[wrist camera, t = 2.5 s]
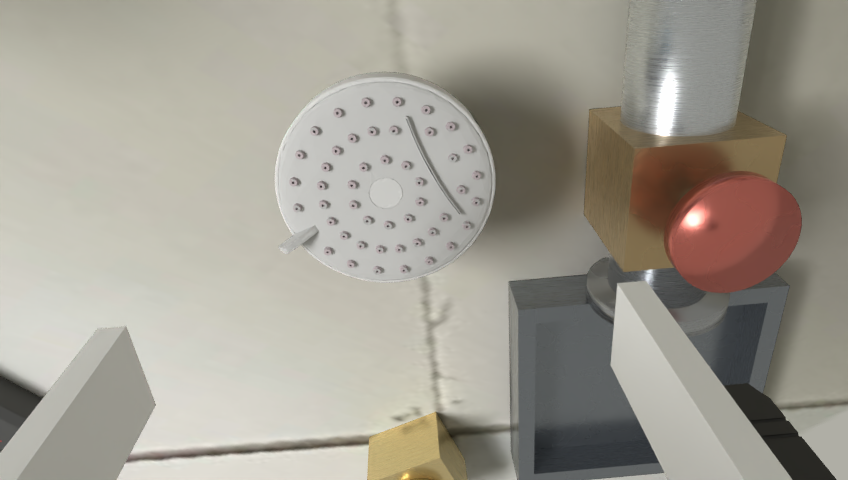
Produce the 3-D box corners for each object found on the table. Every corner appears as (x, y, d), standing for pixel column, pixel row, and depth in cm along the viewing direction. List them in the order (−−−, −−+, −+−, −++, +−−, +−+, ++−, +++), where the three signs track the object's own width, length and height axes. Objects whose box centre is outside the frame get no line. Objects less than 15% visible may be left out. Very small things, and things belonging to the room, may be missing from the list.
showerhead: (209, 162, 23) (434, 35, 21) (250, 114, 29) (424, 13, 28) (337, 332, 27) (535, 237, 25) (348, 256, 33) (506, 176, 32)
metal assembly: (509, 444, 42) (540, 582, 33) (502, -57, 27) (555, -56, 18) (717, 425, 42) (806, 558, 33) (824, -86, 27) (1039, -98, 18)
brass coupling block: (401, 480, 42) (401, 541, 38) (369, 435, 40) (366, 494, 36) (464, 457, 41) (472, 517, 37) (435, 410, 39) (440, 468, 35)
